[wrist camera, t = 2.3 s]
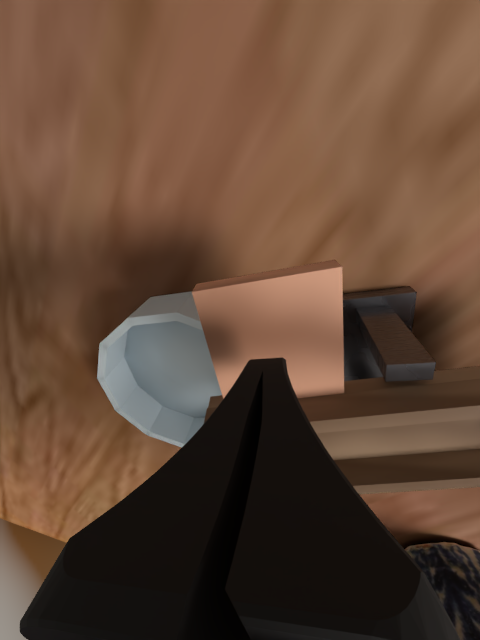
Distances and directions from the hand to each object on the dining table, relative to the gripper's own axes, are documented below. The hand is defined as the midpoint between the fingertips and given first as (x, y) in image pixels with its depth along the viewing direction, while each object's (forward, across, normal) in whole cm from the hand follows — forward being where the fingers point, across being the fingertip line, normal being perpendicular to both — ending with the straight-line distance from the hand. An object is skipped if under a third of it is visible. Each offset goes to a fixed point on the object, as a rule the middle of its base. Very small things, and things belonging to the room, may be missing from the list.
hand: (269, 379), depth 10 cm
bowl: (+10, +8, +6) cm, 14 cm away
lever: (+5, -6, +3) cm, 8 cm away
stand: (+10, -6, +6) cm, 13 cm away
